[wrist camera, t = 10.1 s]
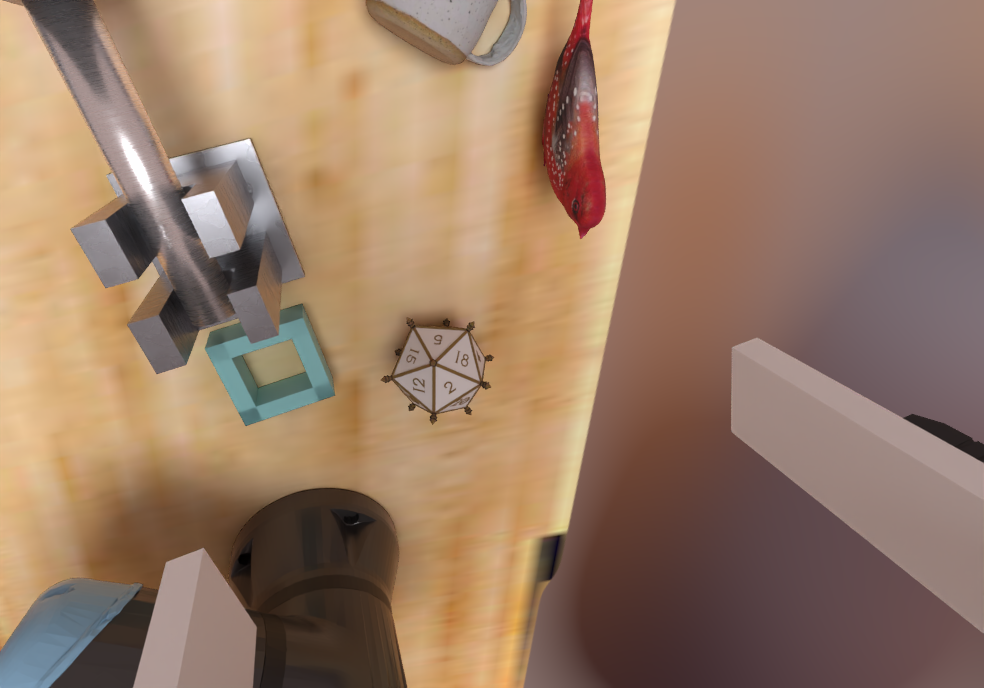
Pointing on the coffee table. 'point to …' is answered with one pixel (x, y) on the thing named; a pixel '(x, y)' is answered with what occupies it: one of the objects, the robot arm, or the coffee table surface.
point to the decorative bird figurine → (575, 129)
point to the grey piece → (131, 150)
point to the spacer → (280, 395)
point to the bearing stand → (224, 234)
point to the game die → (439, 368)
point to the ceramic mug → (449, 26)
